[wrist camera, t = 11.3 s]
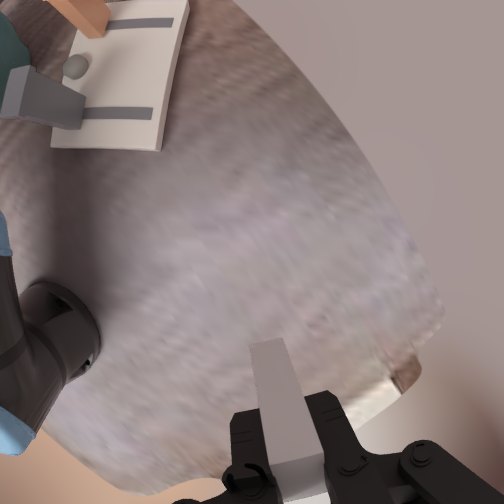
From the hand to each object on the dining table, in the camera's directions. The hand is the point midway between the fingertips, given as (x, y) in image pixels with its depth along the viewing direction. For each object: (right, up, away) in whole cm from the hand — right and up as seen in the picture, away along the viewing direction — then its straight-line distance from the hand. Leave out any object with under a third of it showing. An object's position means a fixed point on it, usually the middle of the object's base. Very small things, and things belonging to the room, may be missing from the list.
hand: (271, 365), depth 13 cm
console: (-17, +27, +17) cm, 36 cm away
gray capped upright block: (-21, +21, +14) cm, 33 cm away
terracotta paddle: (-19, +33, +12) cm, 40 cm away
